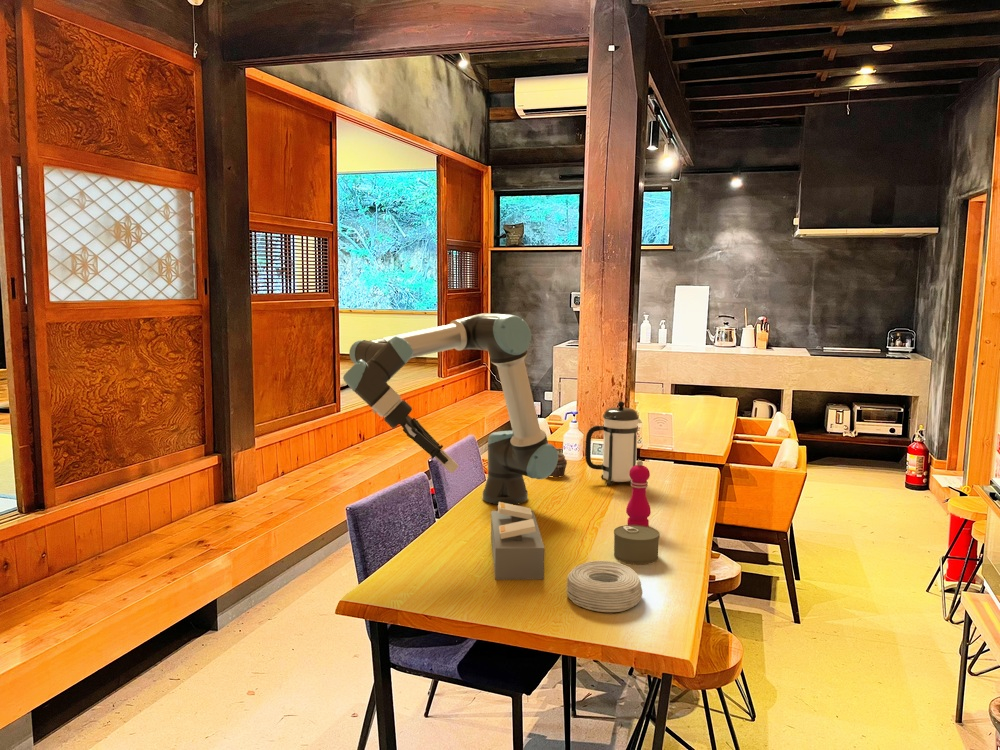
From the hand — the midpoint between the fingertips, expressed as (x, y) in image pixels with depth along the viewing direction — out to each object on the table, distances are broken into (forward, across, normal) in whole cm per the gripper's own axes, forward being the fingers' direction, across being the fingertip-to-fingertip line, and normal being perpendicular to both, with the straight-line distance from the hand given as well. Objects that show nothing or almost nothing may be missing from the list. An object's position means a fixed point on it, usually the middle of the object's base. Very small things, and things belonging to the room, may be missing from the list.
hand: (455, 469), depth 202 cm
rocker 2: (+20, +15, +2) cm, 25 cm away
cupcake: (+42, -77, +10) cm, 88 cm away
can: (+50, +8, +18) cm, 54 cm away
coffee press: (+57, -66, +25) cm, 90 cm away
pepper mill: (+55, -18, +23) cm, 62 cm away
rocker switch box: (+27, +5, -4) cm, 28 cm away
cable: (+41, +33, +9) cm, 53 cm away
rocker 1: (+20, 0, +2) cm, 20 cm away
